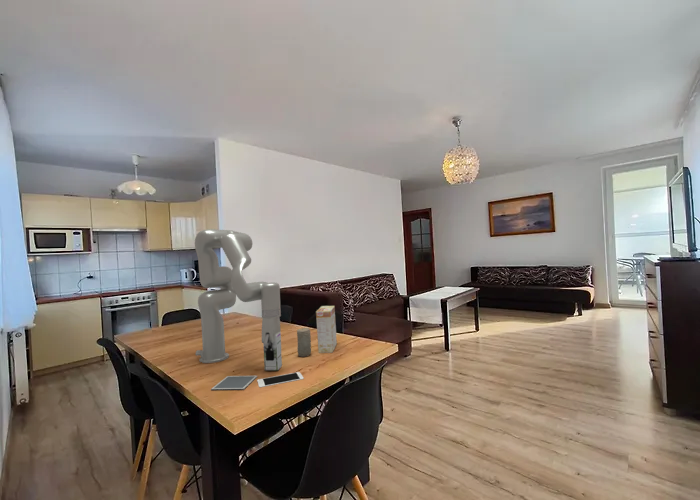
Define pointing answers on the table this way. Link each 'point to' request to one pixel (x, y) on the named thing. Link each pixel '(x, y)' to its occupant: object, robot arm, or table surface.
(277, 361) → the syrup box
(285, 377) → the cell phone
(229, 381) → the mat
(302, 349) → the carving
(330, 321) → the coffeecake box
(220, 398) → the table surface
